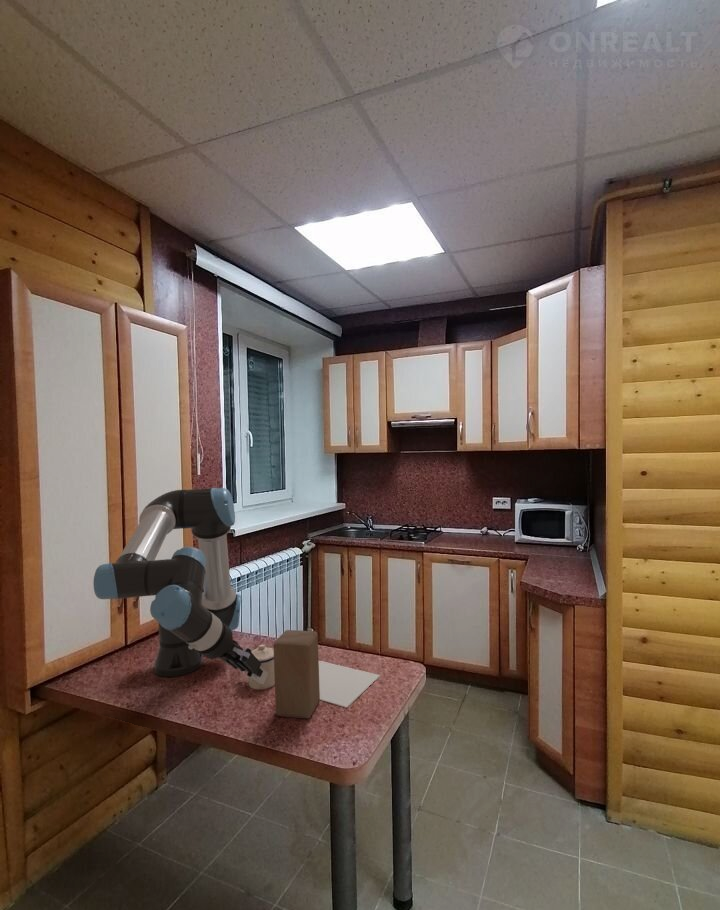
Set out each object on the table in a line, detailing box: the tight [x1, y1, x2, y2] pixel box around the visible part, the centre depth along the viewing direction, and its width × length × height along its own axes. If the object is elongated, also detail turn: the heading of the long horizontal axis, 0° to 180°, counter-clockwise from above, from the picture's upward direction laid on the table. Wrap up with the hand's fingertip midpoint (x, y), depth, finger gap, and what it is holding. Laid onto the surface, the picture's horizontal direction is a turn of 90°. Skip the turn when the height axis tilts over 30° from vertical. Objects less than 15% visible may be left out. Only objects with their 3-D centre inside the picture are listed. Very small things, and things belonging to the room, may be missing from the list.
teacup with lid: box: [247, 644, 275, 691], centre depth 142 cm, size 12×9×12 cm
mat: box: [319, 660, 381, 709], centre depth 140 cm, size 24×20×1 cm
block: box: [272, 629, 320, 719], centre depth 126 cm, size 10×10×20 cm
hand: (263, 678), depth 114 cm, fingers closed
